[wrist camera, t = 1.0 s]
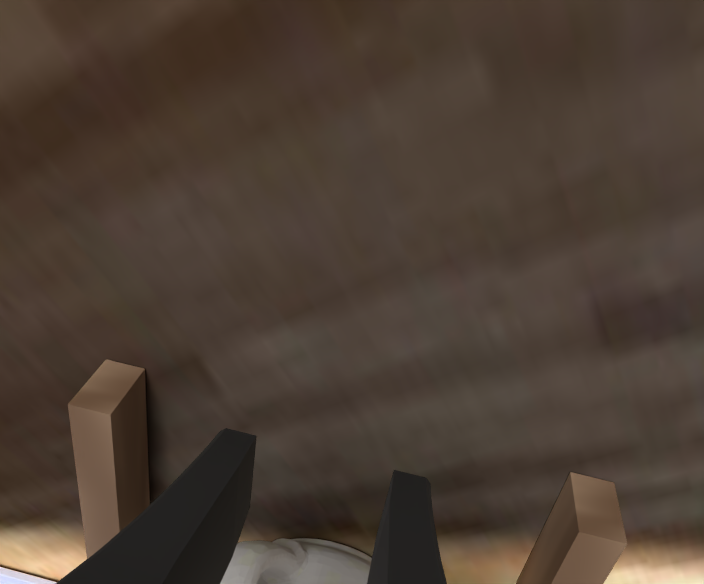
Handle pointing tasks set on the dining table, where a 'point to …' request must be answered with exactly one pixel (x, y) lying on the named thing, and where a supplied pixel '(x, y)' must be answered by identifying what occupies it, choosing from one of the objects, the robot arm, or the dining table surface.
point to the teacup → (296, 563)
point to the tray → (133, 495)
